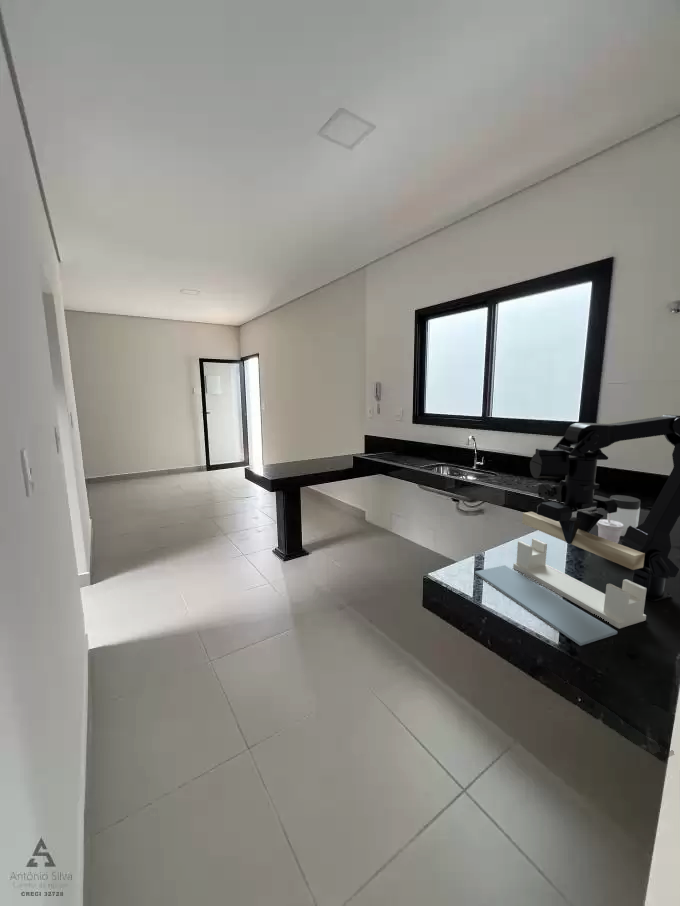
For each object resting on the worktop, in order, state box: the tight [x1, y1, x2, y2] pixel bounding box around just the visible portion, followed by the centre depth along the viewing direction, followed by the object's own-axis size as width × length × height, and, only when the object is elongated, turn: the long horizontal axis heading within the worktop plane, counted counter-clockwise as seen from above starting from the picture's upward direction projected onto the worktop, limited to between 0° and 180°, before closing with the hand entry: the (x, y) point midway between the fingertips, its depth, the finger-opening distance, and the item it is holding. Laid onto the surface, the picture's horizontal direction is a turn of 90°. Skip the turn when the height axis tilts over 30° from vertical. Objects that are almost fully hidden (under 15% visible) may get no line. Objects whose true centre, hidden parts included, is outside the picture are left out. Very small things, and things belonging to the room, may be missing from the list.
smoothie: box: [596, 513, 624, 544], centre depth 107 cm, size 6×6×14 cm
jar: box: [606, 494, 641, 537], centre depth 123 cm, size 9×8×12 cm
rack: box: [512, 538, 647, 629], centre depth 88 cm, size 8×28×8 cm, turn 19°
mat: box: [474, 565, 618, 647], centre depth 85 cm, size 10×30×1 cm, turn 19°
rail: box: [521, 511, 645, 571], centre depth 86 cm, size 3×28×3 cm, turn 19°
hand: (573, 542), depth 86 cm, fingers closed on rail, 3 cm apart
